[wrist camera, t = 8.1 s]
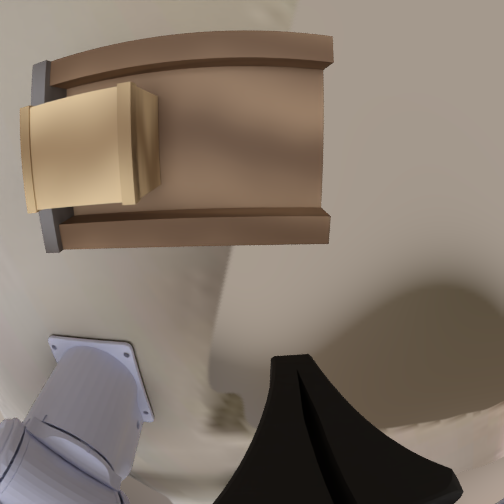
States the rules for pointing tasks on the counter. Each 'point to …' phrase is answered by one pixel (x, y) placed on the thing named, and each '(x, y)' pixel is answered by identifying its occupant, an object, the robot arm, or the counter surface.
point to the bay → (208, 140)
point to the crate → (91, 148)
